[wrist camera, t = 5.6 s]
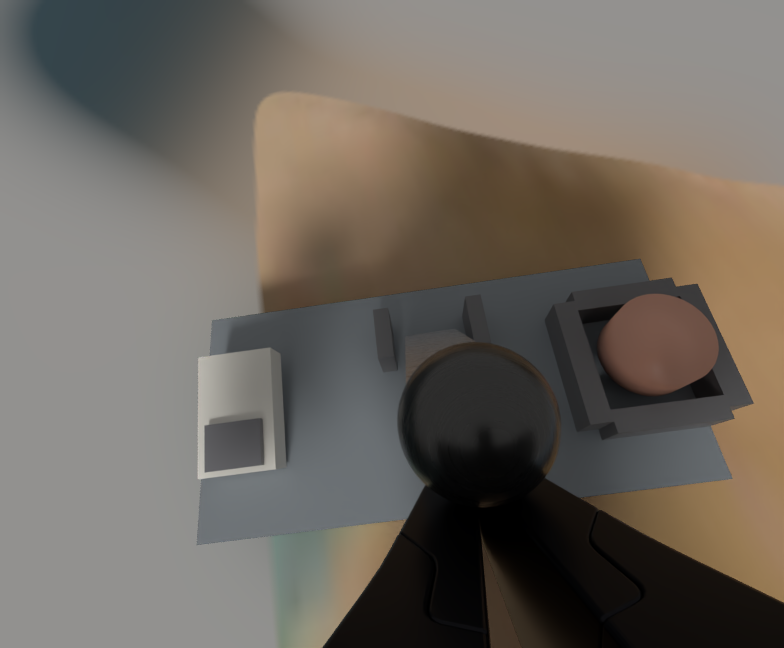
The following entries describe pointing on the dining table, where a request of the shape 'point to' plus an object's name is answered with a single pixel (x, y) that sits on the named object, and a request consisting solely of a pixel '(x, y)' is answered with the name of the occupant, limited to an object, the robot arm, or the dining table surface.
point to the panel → (388, 378)
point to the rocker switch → (240, 413)
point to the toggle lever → (476, 419)
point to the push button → (657, 345)
